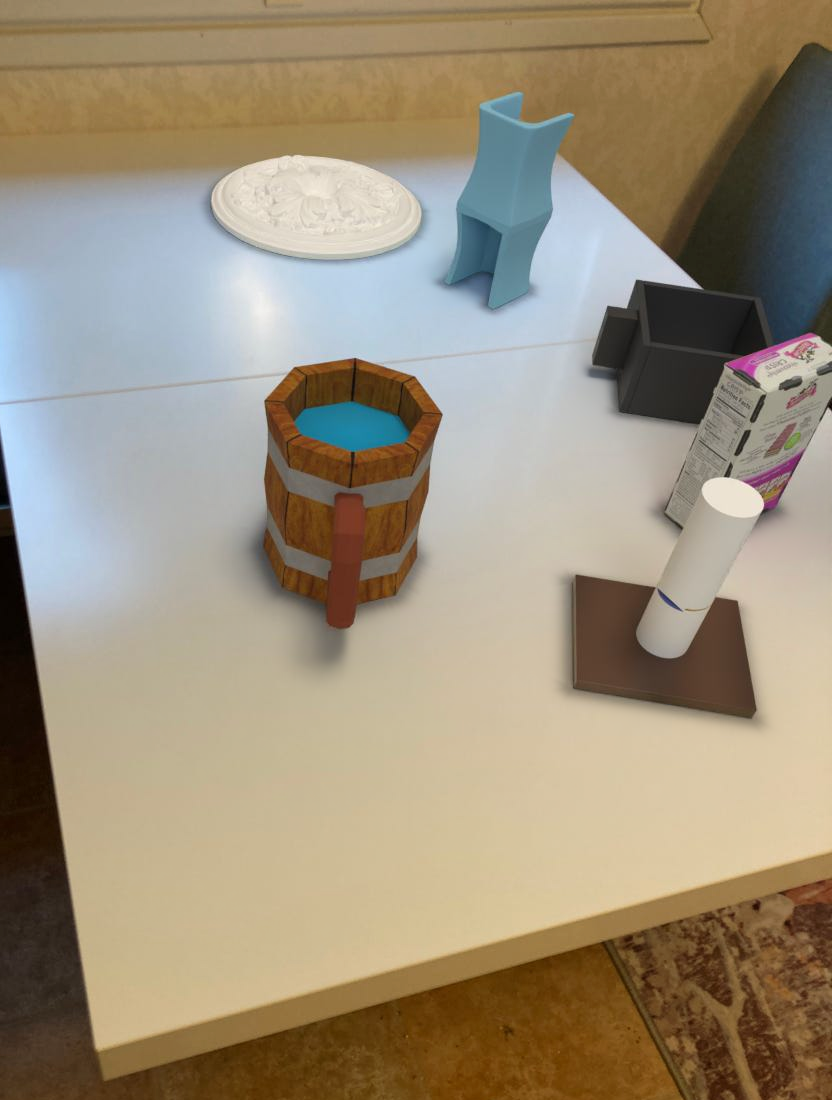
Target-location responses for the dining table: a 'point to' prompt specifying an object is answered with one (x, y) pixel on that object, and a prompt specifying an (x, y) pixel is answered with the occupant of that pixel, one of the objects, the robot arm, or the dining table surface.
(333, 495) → the mug
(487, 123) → the blue flared stand
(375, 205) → the ceiling medallion
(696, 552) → the tube
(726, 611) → the cutting board
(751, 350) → the dark gray open box
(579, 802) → the dining table surface
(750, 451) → the candy bar box
